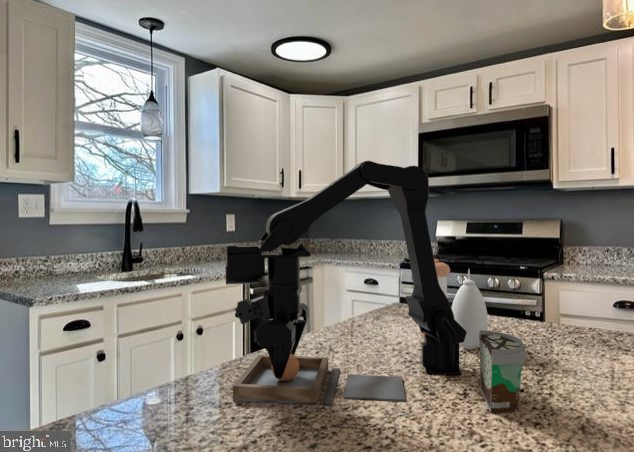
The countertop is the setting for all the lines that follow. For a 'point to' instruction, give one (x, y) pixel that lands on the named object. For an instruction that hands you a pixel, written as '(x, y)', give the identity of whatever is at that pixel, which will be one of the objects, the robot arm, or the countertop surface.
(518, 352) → the food container
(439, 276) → the pepper shaker
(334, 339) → the countertop surface
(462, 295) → the sauce bottle
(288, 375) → the ball
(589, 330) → the countertop surface
